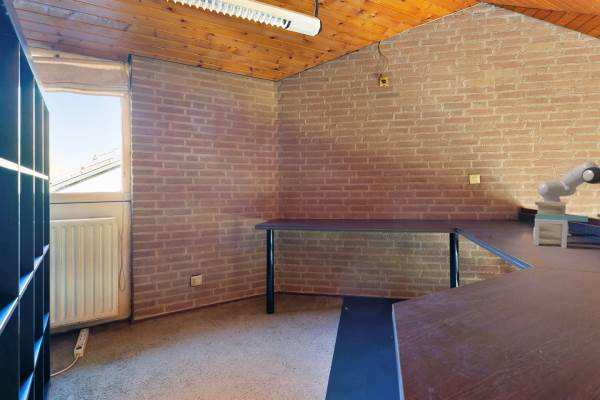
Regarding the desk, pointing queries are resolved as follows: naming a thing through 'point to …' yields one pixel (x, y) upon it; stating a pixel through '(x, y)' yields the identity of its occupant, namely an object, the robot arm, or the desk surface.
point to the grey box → (563, 227)
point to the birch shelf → (550, 231)
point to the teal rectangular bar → (561, 217)
